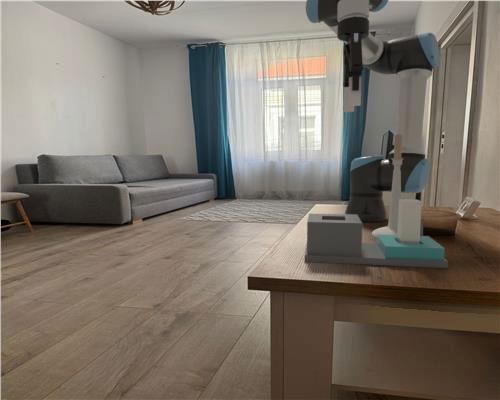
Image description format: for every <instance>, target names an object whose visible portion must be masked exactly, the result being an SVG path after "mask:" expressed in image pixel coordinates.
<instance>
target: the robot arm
mask: <svg viewBox="0 0 500 400" xmlns="http://www.w3.org/2000/svg"><path fill="white" fill-rule="evenodd" d="M388 2H389V0H306V3H305V13H306V14H305V15H306V17H307V19H308V21H309V22H310V23H312V24H320V23H321V22H323V23H324V24H325V25H326V26H328V27H329V28H330V30H331V31H332V32H333V33H334V34H335V35H336V37H337V39H338V40H339V41H342V42H343V43H345V44H344V47H343V55H344V56H343V57H344V59H343V64H344V71H343V113H353V112H355V107H360V106H361V105H362V75H363V70H364V67H365V68H366V69H368V70H371V71H372V72H375V73H378V74H381V75H382V74H383V75H395V78H396V79H397V80H398V81H399V87H398V98H397V111H396V121H395V122H396V123H395V133H394V136H395V135H398V133H399V135H402V153H401V158H404V159H403V160H402V165H401V167H400V171H401V194H402V193H403V194H404V193H405V194H419V193H421V192H422V191H423V190H424V189H425V188H426V186H427V184H428V182H429V178H430V174H431V162H430V160H429V159H428V158H426V153H425V152H424V151H423V150H422V140H423V139H422V137H423V129H424V119H425V118H424V116H425V105H426V95H427V94H426V92H427V82H428V79H430V78H431V77H432V76H433V69H436V68H439V65H440V61H441V57H440V47H439V44H438V39H437V37H436V35H435V33H432V32H424V33H423V32H422V33H417V34H412V35H408V36H405V37H400V38H399V37H398V38H395V39H388V40H381V38H379V37H376V36H374V35H373V34H372V33H371V31H370V20H369V18H370V13H376V12H377V13H378V12H380V11H381V10H383V9H384V7H386V5H387V4H388ZM391 158H394V148H393V149H392V150H391V151H390V152H389V153H388V158H385V157H384V155H380V154H379V155H373V156H372V155H370V156H362V157H357V158H354V159H353V160H352V161H351V163H350V170H349V173H350V176H349V178H350V181H349V183H350V187H349V188H350V190H349V192H350V193H349V194H350V195H349V200H348V203H347V205H346V209H345V212H344V214H356V215H358V217H359V218H360V220H361V222H382V221H386V220H387V219H388V212H387V210H386V206H385V202H384V197H383V195H384V193H385V192H387V193H391V192H392V181H393V171H394V165H393V164H392V163H393V160H392V159H391Z"/></svg>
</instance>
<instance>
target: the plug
mask: <svg viewBox="0 0 500 400" xmlns="http://www.w3.org/2000/svg"><path fill="white" fill-rule="evenodd" d="M422 202H423V201H421V200H419V199H413V198H412V199H408V198H407V199H406V198H403V199H402V198H401V199H399V209H398V234H397V242H398V243H405V244H420V236H424V222H425V221H424V220H425V219H424V218H423V217H422V205H423V203H422Z"/></svg>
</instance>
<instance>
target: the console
mask: <svg viewBox="0 0 500 400" xmlns="http://www.w3.org/2000/svg"><path fill="white" fill-rule="evenodd" d="M445 252H446V251H445V247H443V246H442V245H441V244H440V243H438V242H437V241H436V240H435V239H433V238H432V237H430V235H423V236H420V244H405V243H398V242H397V235H377V238H376V242H375V243H374V242H363V221H361V220H360V218H359V217H358V215H356V214H345V213H308V216H307V223H306V245H305V251H304V262H307V263H325V264H326V263H328V264H350V265H351V264H353V265H367V266H368V265H371V266H390V267H392V266H393V267H396V266H397V267H412V268H413V267H415V268H434V269H435V268H437V269H449V261H448V260H447V259H446V258H445Z"/></svg>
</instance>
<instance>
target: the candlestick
mask: <svg viewBox="0 0 500 400" xmlns="http://www.w3.org/2000/svg"><path fill="white" fill-rule="evenodd" d="M393 142H394V147H393V149H394V158H391V159H392V160H393V163H392V164H393V165H394V171H393V181H392V192H390V193H391V194H390V205H389V215H388V223H387V225H386V226H382V227H378V228H376V229H374V230H373V231H372V232H371V236H372V237H373V238H376V239H377V235H397V234H398V209H399V199H402V193H401V171H400V167H401V165H402V160H403V159H404V158H401V153H402V135H399V133H398V135H395V134H394V141H393Z"/></svg>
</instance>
